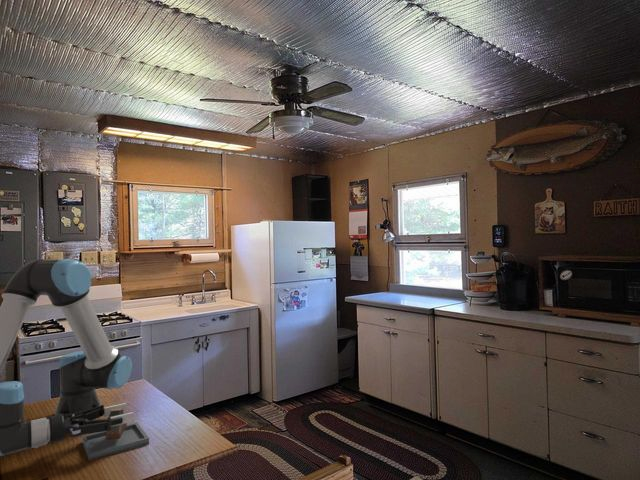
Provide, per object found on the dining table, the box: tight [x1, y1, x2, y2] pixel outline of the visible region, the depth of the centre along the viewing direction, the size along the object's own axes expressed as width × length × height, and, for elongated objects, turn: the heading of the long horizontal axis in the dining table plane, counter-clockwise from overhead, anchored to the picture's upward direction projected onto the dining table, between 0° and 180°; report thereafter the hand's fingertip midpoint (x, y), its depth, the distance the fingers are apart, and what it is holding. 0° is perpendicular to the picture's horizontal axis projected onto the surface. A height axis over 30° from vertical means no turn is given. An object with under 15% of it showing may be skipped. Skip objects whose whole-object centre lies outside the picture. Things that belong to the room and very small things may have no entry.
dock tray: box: [81, 422, 150, 462], centre depth 138 cm, size 15×17×2 cm
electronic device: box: [106, 409, 128, 440], centre depth 139 cm, size 4×10×8 cm, turn 13°
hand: (129, 411), depth 141 cm, fingers closed on electronic device, 9 cm apart
